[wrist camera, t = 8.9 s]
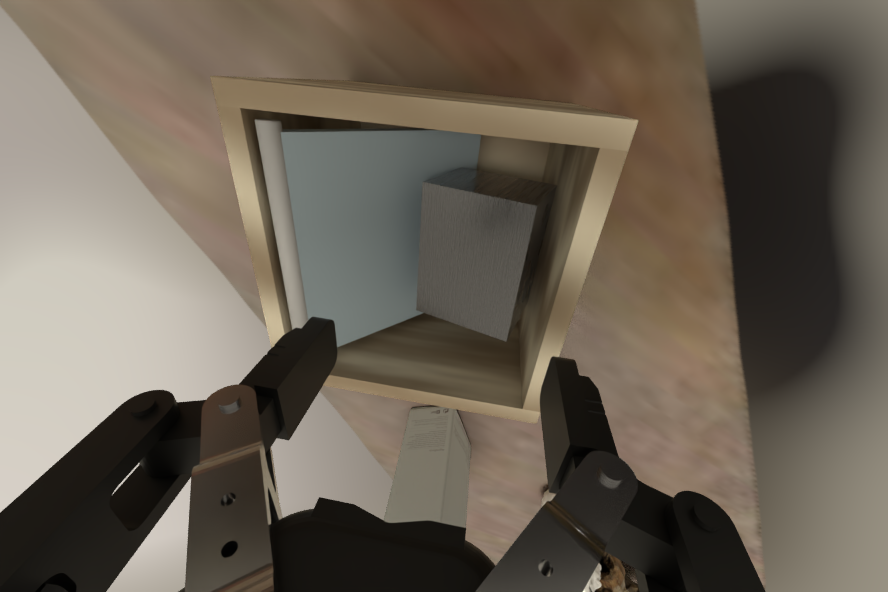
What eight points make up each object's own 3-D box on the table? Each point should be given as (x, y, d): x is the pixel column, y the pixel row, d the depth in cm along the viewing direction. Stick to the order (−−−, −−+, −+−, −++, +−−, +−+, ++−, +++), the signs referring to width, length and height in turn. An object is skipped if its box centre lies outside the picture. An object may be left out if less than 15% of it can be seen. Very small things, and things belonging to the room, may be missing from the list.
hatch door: (251, 118, 15) (258, 121, 14) (472, 120, 22) (483, 122, 21) (295, 358, 21) (301, 367, 21) (452, 297, 29) (460, 303, 28)
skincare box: (410, 406, 42) (369, 543, 30) (458, 402, 41) (436, 544, 28) (430, 451, 46) (402, 588, 33) (475, 449, 44) (463, 592, 32)
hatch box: (348, 80, 25) (210, 76, 13) (573, 103, 24) (638, 120, 12) (358, 274, 34) (278, 377, 22) (525, 300, 32) (536, 423, 20)
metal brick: (422, 181, 18) (537, 205, 16) (461, 167, 22) (556, 184, 20) (416, 310, 22) (506, 341, 20) (449, 278, 26) (527, 302, 24)
